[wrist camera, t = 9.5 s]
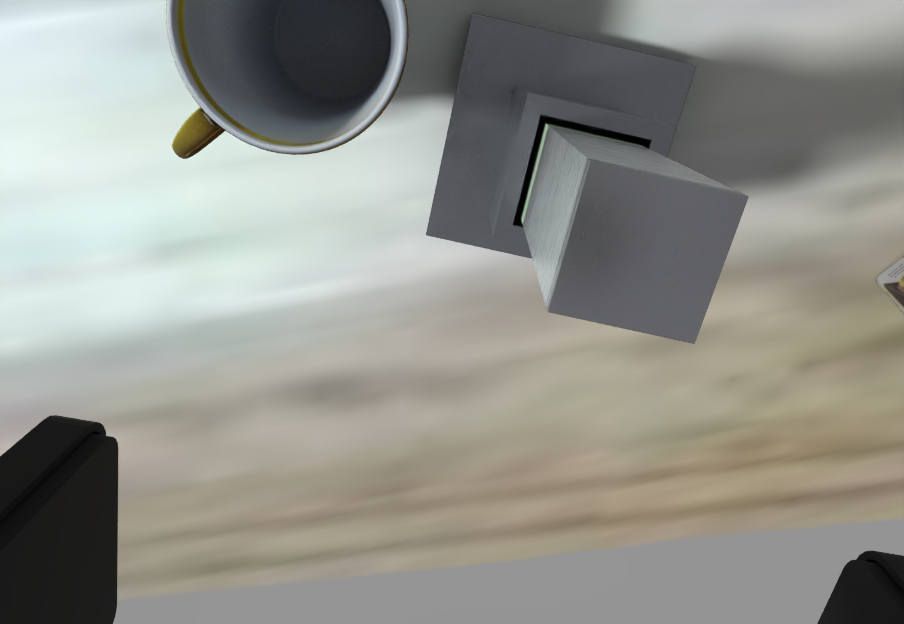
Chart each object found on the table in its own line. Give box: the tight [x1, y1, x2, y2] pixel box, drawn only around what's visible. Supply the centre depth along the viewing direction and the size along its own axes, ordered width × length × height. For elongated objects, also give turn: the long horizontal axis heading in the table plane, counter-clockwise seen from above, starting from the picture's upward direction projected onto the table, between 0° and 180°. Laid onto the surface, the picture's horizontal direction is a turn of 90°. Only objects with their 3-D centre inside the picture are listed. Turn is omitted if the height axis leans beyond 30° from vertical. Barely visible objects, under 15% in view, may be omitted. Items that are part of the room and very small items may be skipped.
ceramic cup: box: [166, 0, 408, 159], centre depth 33 cm, size 13×10×10 cm
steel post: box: [517, 117, 748, 344], centre depth 25 cm, size 4×4×16 cm
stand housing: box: [426, 13, 696, 258], centre depth 34 cm, size 12×12×12 cm
